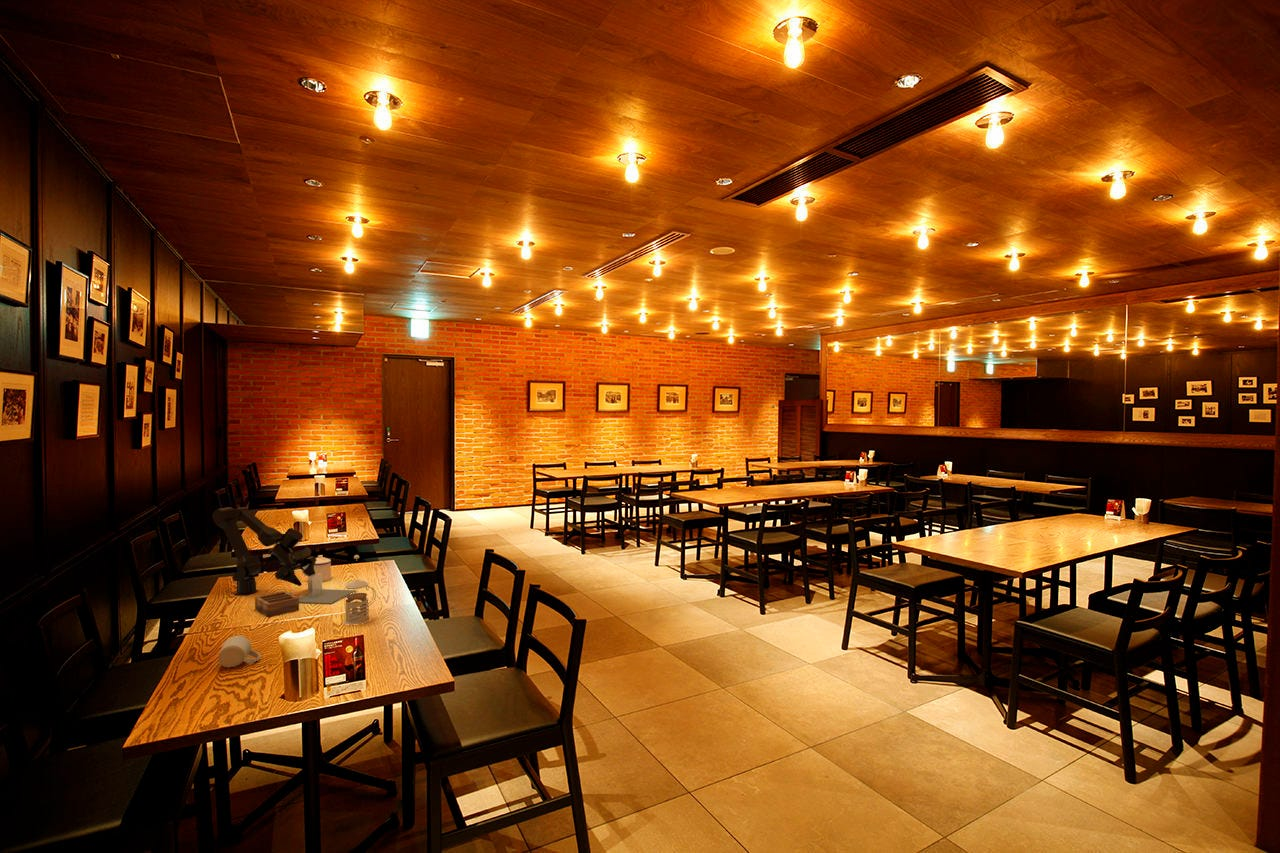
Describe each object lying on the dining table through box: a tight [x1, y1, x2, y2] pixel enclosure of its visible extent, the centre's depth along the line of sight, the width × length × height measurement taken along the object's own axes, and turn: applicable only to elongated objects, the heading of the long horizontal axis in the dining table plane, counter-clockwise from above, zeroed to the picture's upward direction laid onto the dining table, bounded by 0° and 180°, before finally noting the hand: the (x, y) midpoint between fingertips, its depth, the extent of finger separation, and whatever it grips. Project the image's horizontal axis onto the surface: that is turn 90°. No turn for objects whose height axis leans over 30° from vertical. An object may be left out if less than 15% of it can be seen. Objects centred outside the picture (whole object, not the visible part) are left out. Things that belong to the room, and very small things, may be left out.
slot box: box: [254, 590, 300, 618], centre depth 239 cm, size 14×11×5 cm
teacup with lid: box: [301, 554, 332, 583], centre depth 282 cm, size 12×9×12 cm
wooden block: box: [307, 573, 323, 598], centre depth 256 cm, size 2×6×9 cm, turn 170°
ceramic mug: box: [217, 635, 261, 669], centre depth 188 cm, size 11×8×8 cm
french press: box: [342, 554, 377, 626], centre depth 228 cm, size 10×12×25 cm
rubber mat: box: [298, 588, 357, 605], centre depth 257 cm, size 18×18×1 cm
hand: (308, 582), depth 257 cm, fingers open, 9 cm apart
